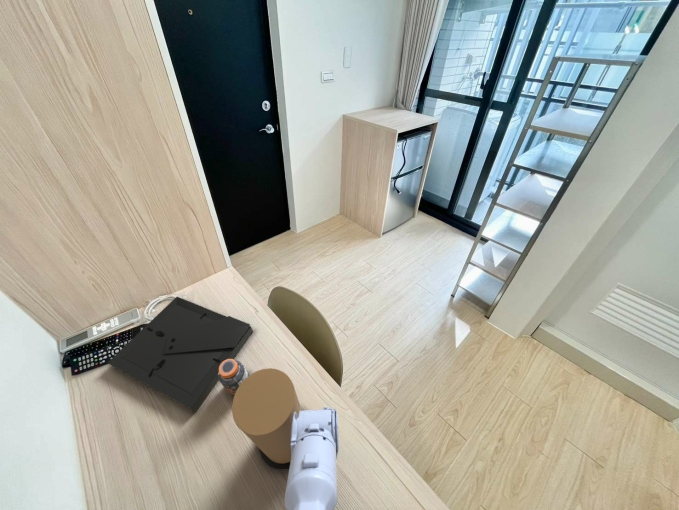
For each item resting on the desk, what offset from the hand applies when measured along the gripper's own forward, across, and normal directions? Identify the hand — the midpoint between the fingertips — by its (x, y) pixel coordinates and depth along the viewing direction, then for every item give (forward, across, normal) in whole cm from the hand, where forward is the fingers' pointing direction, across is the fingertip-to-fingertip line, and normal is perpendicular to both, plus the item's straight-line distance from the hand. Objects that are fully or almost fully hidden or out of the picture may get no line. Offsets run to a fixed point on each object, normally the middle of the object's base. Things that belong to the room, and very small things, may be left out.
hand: (322, 461), depth 54 cm
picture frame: (+5, -20, -44) cm, 48 cm away
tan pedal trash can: (+3, -4, -6) cm, 8 cm away
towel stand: (+5, -4, -10) cm, 11 cm away
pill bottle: (+5, -13, -24) cm, 28 cm away
